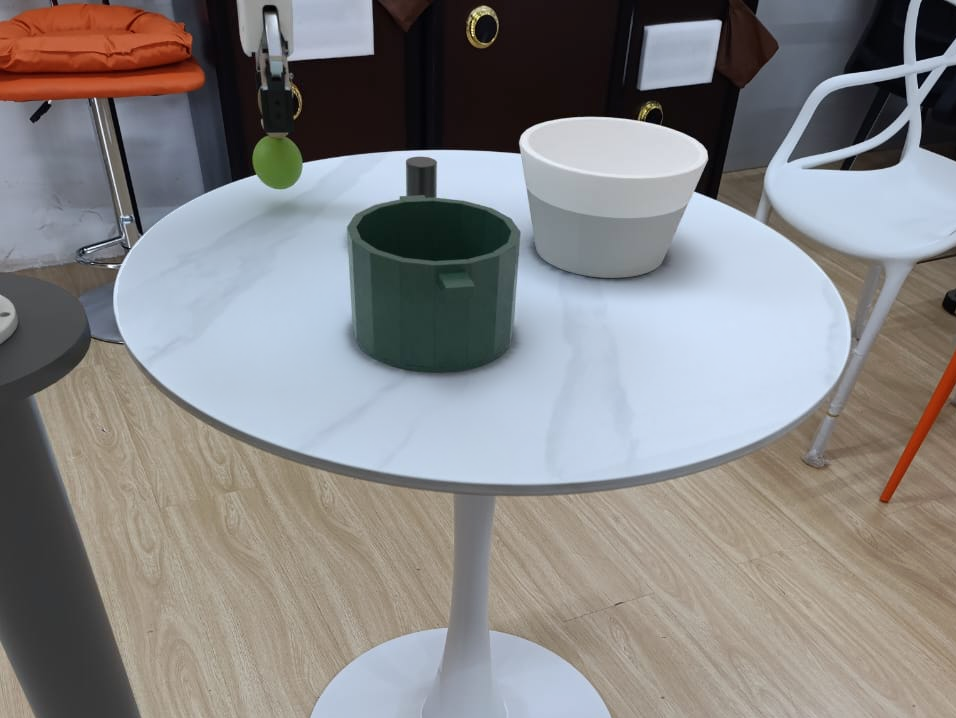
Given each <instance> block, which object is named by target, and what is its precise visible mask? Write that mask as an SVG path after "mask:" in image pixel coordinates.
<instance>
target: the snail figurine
mask: <svg viewBox="0 0 956 718" xmlns="http://www.w3.org/2000/svg"><path fill="white" fill-rule="evenodd" d="M293 79H294V74H293V73H292V72H289V80H290V88H291V89H292V99H293V98H294V89H293ZM260 88H262V85H261V87H260ZM258 103H259V107H258V109H259V108H260V111H261V114H262V107H261V97H260V89H259V92H258V97H257V104H258ZM261 114H260V115H261ZM260 123H261V127H262V129H263V130H264V128H263V118H261V119H260ZM288 134H289V133H266V136H264V137H263V138H261V139H260V140H259V141H258V142H257V143H256V145H255V147H254V149H253V153H252V165H253V166H252V167H253V169H254V172H255V174H256V176H257V178H258V179H259V180H260V181H261V182H262V183H263V184H264V185H266V186H267V187H268V188H270V189H274V190H286V189H290V188H291V187H293V186H294V185H295V184H296V183H297V182H298V181H299V179H300V177H301V175H302V173H303V167H304V166H303V165H304V163H303V157H302V154H301V152H300V149H299V148H298V146H297V145H296V144H295V142H294V141H292V140H291V139H290V138H288V137H286V136H287V135H288Z"/></svg>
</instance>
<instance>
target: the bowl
mask: <svg viewBox="0 0 956 718" xmlns="http://www.w3.org/2000/svg"><path fill="white" fill-rule="evenodd" d="M518 145H519V151H520V158H521V164H522V171H523V176H524V183H525V187H526V188H525V189H526V194H527V200H528V207H529V214H530V220H531V226H532V234H533V240H534V245H535V250H536V253H537V254H538V255H539V257H540V258H541V259H542V260H543V261H545V262H546V263H548V264H550V265H551V266H553V267H555V268H557V269H560V270H563V271H566V272H568V273H572V274H576V275H580V276H587V277H593V278H603V279H620V278H632V277H637V276H641V275H644V274H648V273H650V272H652V271H654V270H656V269H658V268H659V267H660V266H661V265H662V263H663V261H664V260H665V257H666V255H667V253H668V250H669V248H670V245H671V244H672V242H673V239H674V236H675V235H676V233H677V230H678V228H679V225H680V223H681V221H682V219H683V217H684V214H685V211H687V207H688V205H689V203H690V202H691V199H692V197H693V195H694V193H695V190H696V188H697V185H698V183H699V181H700V179H701V176H702V174H703V172H704V169H705V167H706V166H707V164H708V161H709V155H708V150H707V149H706V147H705V146H704V144H702V143H700V141H698V140H697V139H696V138H694V137H691V136H690V135H688V134H686V133H684V132H681V131H678V130H676V129H673V128H670V127H667V126H664V125H659V124H656V123H653V122H652V123H651V122H646V121H642V120H635V119H628V118H621V117H619V118H618V117H607V116H583V117H582V116H577V117H566V118H558V119H553V120H547V121H544V122H540V123H537V124H535V125H533V126H531V127H528V128H527V129H525V130H524V131H523V133H522V134H521V135H520V138H519V141H518Z"/></svg>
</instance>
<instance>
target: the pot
mask: <svg viewBox="0 0 956 718" xmlns="http://www.w3.org/2000/svg"><path fill="white" fill-rule="evenodd" d="M521 233H522V232H521V230H520V229H519V228H518V226H517V224H516V223H515V222H514V221H513V218H511V217H510V216H508V215H505V214H504V213H502V212H500V211H498V210H497V209H494V208H493V207H489V206H485V205H482V204H477V203H474V202H470V201H466V200H461V199H451V198H450V199H449V198H443V197H441V198H440V197H437V198H426V197H425V196H424V195H417V196H406V195H399V199H396V200H391V201H386V202H381V203H377V204H373V205H371V206H370V207H367V208H365V209H363V210H361V211H359V212H357V213H356V214H354V216H353V217H352V219H351V220H350V221H349V223H348V225H346V235H347V236H346V238H347V253H348V271H349V288H350V289H349V290H350V304H351V305H350V306H351V324H352V329H353V335H354V339H355V342H356V344H357V346H358V347H359V348H360V349H361V350H362V351H363V352H364V353H365V354H366V355H367V356H369V357H371V358H372V359H375V360H376V361H378V362H381V363H382V364H385V365H388V366H391V367H394V368H397V369H403V370H406V371H407V370H408V371H413V372H422V373H454V372H461V371H467V370H472V369H475V368H478V367H482V366H485V365H487V364H489V363H491V362H494V361H495V360H497V359H498V358H500V357H502V356H503V355H504V354H505V353H506V352H507V350H508V349H509V347H510V345H511V343H512V340H513V339H512V338H513V332H514V328H515V327H514V325H515V315H516V298H517V287H518V285H517V284H518V272H519V260H520V259H519V258H520V244H521Z"/></svg>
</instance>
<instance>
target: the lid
mask: <svg viewBox="0 0 956 718" xmlns="http://www.w3.org/2000/svg"><path fill="white" fill-rule="evenodd" d="M437 179H438V161H437V160H436V159H435V158H432V157H429V156H412V157H408V158H407V159H406V160H405V196H417V195H424V196H425V197H426V198H438V195H437V194H438V193H437V191H438V180H437Z"/></svg>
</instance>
